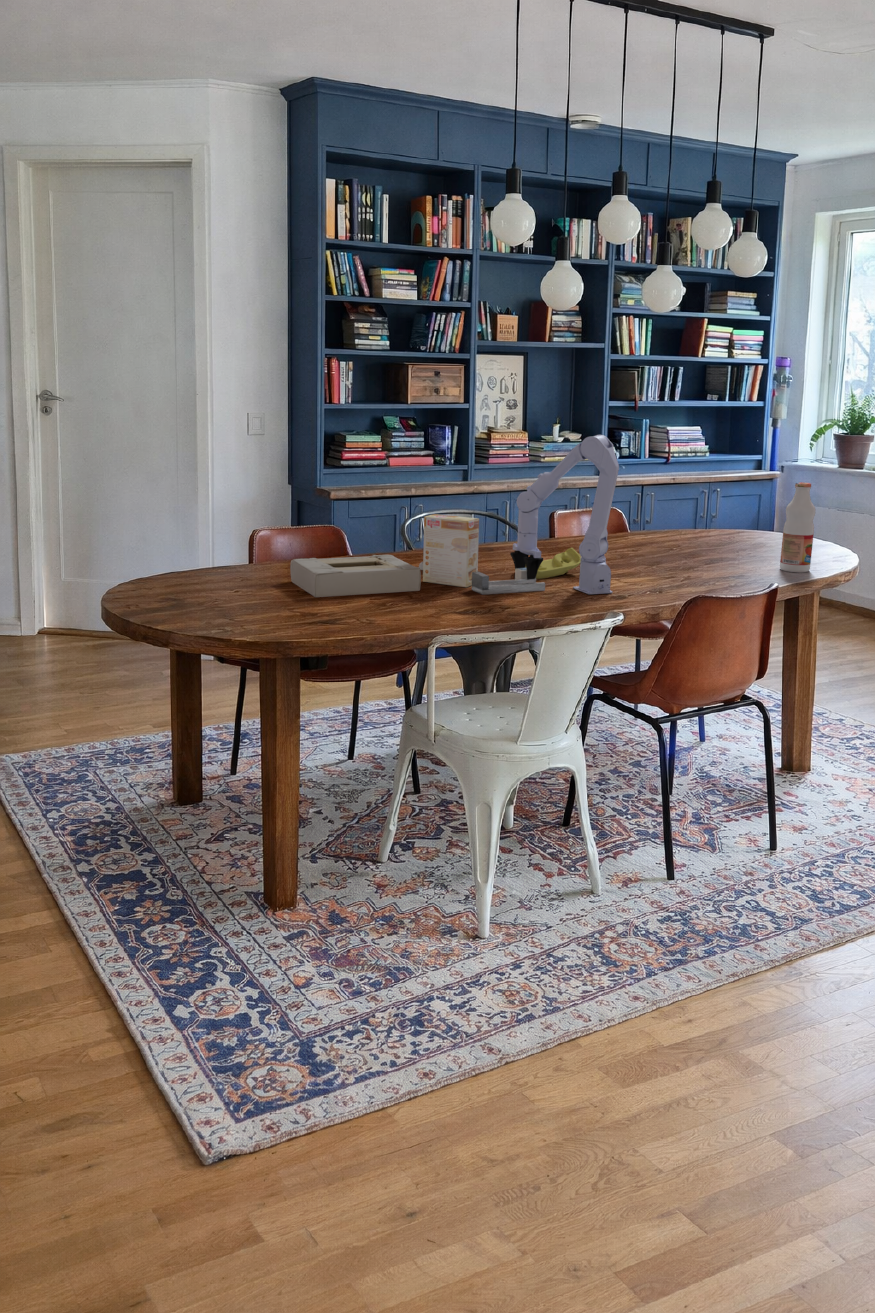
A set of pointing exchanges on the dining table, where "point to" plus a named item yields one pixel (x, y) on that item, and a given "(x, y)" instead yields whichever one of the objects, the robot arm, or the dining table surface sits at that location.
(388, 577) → the box
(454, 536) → the coffeecake box
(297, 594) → the dining table surface
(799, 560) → the fruit juice
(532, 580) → the rail
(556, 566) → the plastic component
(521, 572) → the block
